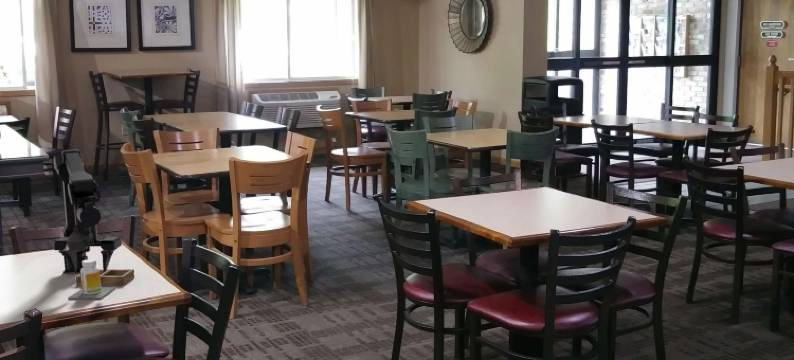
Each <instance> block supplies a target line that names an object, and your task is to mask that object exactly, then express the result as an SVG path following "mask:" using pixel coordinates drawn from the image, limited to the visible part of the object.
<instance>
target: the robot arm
mask: <svg viewBox="0 0 794 360" xmlns="http://www.w3.org/2000/svg"><path fill="white" fill-rule="evenodd" d="M84 166H85V160H84V154H83V152H81V151H80V149H77V148H74V149H73V148H72V149H64V150H62V151H61V152H60V153H58V154H56V155H55V154H54V156H53V168H54V170H55V171H56V173H57V175H58V177H59V178H60V180H61V181H62V188H63V189H62V190H63V191H62V192H63V202H64V203H63V204H64V213H65V214H64V216H65V224H64V226H63V227H62V229H61V237H59V238H57V239H56V240H54V242H53V251H57V252H58V253H59V254H60V255H61V256H63V260H64V270H63V271H62V274H80V271H81V269H82V268H83V266H82V261H84V260H88V259H89V257H88V255H87V253H90V251H91V247H100V248H101V249H102V250H100V254H101V255H102V269H103V270H104V272H106V271H107V269H109V268H108V267H109V264H110V261H111V258H112V257H113V254H114V252H115V251H116V250H117V249H118V248H120V247H122V246H123V243H122V241H123V240H122V239H121V237H120V236H106V237H105V238H103V239H100V235H99V234H98V231H97V226H99V222H101V218H102V214H101V211H100V210H99V209H98V208H97V207H96V206H95V203H98V202H100V201H101V197H102V196H101V195H102V194H101V191H100V187H99V184H98V183H97V181H96V180H94V178H93V176H92V175H91V173H88V172H86V171H85V167H84Z"/></svg>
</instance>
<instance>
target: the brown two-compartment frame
mask: <svg viewBox="0 0 794 360" xmlns="http://www.w3.org/2000/svg"><path fill="white" fill-rule="evenodd" d="M99 270H100V281H101V286H125V285H127V284H128V283H130V282H131V281H132V280H134V279H135V269H133V268H131V269H129V268H128V269H126V268H125V269H124V268H123V269H121V268H120V269H118V268H116V269H115V268H114V269H113V268H112V269H111V268H110V269H109V268H107V271H106V272H104V270H103V268H102V269H100V268H99ZM75 284H76V286H82V283H81V273H78V274H77V275H76V276H75Z"/></svg>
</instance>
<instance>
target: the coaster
mask: <svg viewBox="0 0 794 360" xmlns="http://www.w3.org/2000/svg"><path fill="white" fill-rule="evenodd" d="M115 290H116V286H114V287H112V286H111V287H109V286H107V287H106V286H104V287H102V286H101V292H99V293H97V294H90V295H86V294H83V292H82V288H80V289H79V290H78V291H76V292H74V293H73V294H72V295H69V296H68V298H67V299H68V300H85V299H100V300H103V299H104V298H105V297H107V296H108V295H109V294H111V293H112V292H114V291H115ZM100 300H99V301H100Z"/></svg>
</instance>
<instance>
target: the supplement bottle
mask: <svg viewBox="0 0 794 360" xmlns="http://www.w3.org/2000/svg"><path fill="white" fill-rule="evenodd" d="M82 266H83V268H82V269H81V271H80V273H81V283H82V285H81V289H82V292H83V294H86V295H90V294H97V293H99V292H101V287H102V285H101V281H100V270H99V269H100V267H98V266H97V260H96V259H93V258H91V259H90V258H88V260H84V261H82ZM80 273H79V274H80Z"/></svg>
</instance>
